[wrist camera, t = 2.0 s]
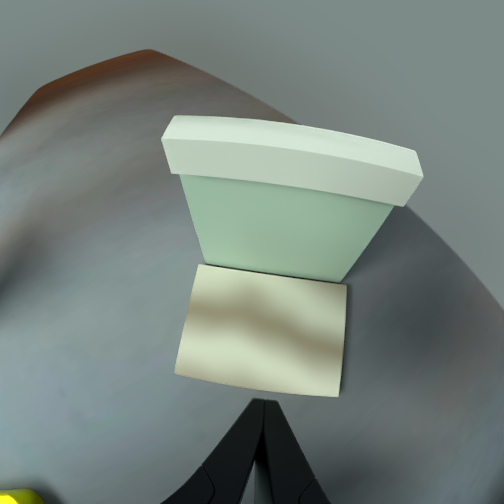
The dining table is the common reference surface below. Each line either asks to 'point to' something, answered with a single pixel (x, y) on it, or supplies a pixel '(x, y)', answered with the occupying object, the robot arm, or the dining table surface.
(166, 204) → the dining table surface
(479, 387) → the dining table surface
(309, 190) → the panel
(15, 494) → the element tile
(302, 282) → the plate
